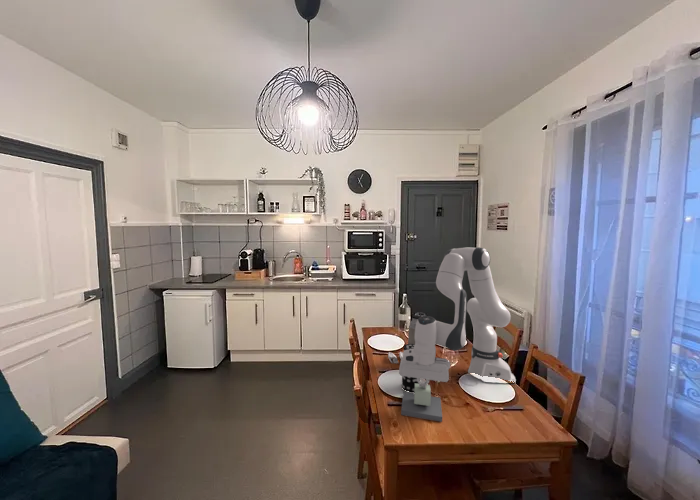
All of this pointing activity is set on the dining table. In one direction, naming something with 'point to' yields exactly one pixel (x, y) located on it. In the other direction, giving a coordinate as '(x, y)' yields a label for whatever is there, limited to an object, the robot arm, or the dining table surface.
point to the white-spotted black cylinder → (409, 382)
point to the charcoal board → (421, 408)
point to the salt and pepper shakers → (394, 357)
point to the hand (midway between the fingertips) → (422, 387)
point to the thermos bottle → (412, 329)
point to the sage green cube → (422, 395)
